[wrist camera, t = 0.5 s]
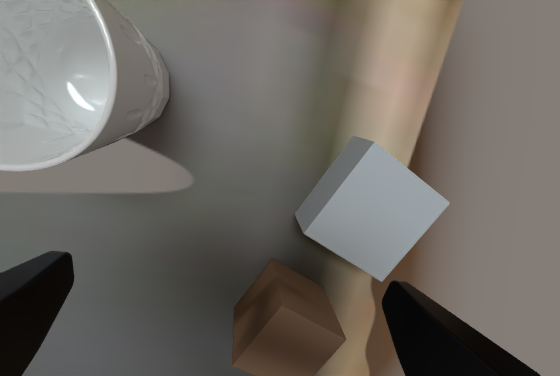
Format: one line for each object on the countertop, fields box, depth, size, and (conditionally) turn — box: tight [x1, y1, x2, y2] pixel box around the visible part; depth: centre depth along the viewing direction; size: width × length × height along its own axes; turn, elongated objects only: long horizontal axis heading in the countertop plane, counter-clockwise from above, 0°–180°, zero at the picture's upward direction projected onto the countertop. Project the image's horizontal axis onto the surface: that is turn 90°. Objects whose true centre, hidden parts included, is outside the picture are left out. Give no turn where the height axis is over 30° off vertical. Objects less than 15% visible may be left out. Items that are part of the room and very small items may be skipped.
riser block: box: [295, 136, 450, 282], centre depth 22 cm, size 8×8×4 cm
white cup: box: [0, 0, 169, 171], centre depth 14 cm, size 8×8×10 cm
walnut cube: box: [232, 259, 346, 376], centre depth 22 cm, size 6×6×6 cm
